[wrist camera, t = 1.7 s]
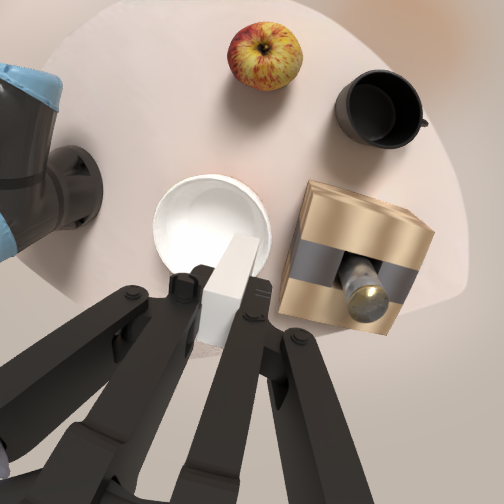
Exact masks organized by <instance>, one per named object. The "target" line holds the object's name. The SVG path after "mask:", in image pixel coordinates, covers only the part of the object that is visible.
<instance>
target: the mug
mask: <svg viewBox="0 0 504 504" xmlns="http://www.w3.org/2000/svg"><path fill="white" fill-rule="evenodd" d="M335 111H336V117H337V121H338V123H339V125H340V127H341V128H342V130H343V131H344V132H345V134H346V135H348V136H349V137H350V138H351V139H353V140H354V141H356V142H359V143H362V144H365V145H369V146H374V147H378V148H382V149H396V148H400V147H403V146H405V145H406V144H408V143H409V142H411V141H412V140H413V139H414V138H415V136H416V135H417V134H418V132H419V130H420V127H427V126H428V124H429V123H428V122H427V121H426V120H424V119H423V110H422V104H421V101H420V98H419V96H418V94H417V92H416V90H415V89H414V88H413V86H412V85H411V84H410V83H409V82H408V81H407V80H406V79H404V78H403V77H402V76H400V75H398V74H396V73H394V72H391V71H387V70H372V71H368V72H365V73H363V74H362V75H360V76H359V77H357V78H356V79H355V80H354V81H352V82H351V83H350V84H348V85H347V86H346V87H345V88H344V89H343V90H342V91H341V92H340V94H339V95H338V98H337V101H336V107H335Z"/></svg>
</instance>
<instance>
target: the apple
mask: <svg viewBox="0 0 504 504" xmlns="http://www.w3.org/2000/svg"><path fill="white" fill-rule="evenodd" d="M227 59H228V64H229V66H230V69H231V71H232V73H233V74H234V76H235V77H236V78H237V79H238V80H239V81H241V82H242V83H244V84H246V85H248V86H250V87H253V88H255V89H259V90H263V91H270V90H276V89H279V88H281V87H283V86H285V85H286V84H288V83H289V82H290V81H292V80H293V79H294V78H295V77H296V76H297V74H298V72H299V70H300V68H301V65H302V61H303V54H302V50H301V47H300V45H299V43H298V41H297V39H296V37H295V36H294V35H293V33H292V32H291V31H290V30H289V29H288V28H286V27H285V26H283V25H281V24H278V23H274V22H259V23H255V24H252V25H249V26H247V27H245V28H243V29H242V30H240V31H239V32H238V33H237V34H236V35H235V36H234V38H233V39H232V41H231V43H230V46H229V49H228V53H227Z"/></svg>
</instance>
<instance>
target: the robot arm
mask: <svg viewBox="0 0 504 504" xmlns="http://www.w3.org/2000/svg"><path fill="white" fill-rule="evenodd" d="M62 89H63V84H62V81H61V79H60V78H59V77H58V76H56V75H53V74H50V73H46V72H42V71H38V70H34V69H29V68H25V67H20V66H13V65H8V64H3V63H0V262H2V261H4V260H6V259H8V258H10V257H14V256H15V255H16V254H17V253H19V252H21V251H22V250H24V249H25V248H27V247H28V246H30V245H31V244H33V243H35V242H36V241H38V240H39V239H41V238H43V237H44V236H46V235H48V234H49V233H51V232H53V231H55V230H71V229H77V228H80V227H82V226H83V225H85V224H87V223H89V222H90V221H91V220H92V219H93V218H94V217H95V216H96V214H97V213H98V211H99V208H100V206H101V202H102V196H103V184H102V178H101V174H100V171H99V168H98V166H97V164H96V162H95V161H94V159H93V158H92V156H91V155H90V154H89V153H88V152H87V151H85V150H84V149H82V148H80V147H77V146H65V147H60V148H57V149H55V150H53V151H52V152H50V153H49V150H50V144H51V139H52V135H53V130H54V125H55V121H56V117H57V113H59V108H58V107H59V102H60V98H61V93H62ZM259 243H260V239H259V238H255V237H251V236H246V235H242V234H238V233H235V234H234V236H233V238H232V239H231V241H230V243H229V245H228V246H227V248H226V250H225V252H224V253H223V255H222V257H221V259H220V261H219V262H218V264H217V266H216V268H214V267H210V266H207V265H203V264H200V265H198V266H196V267H194V268H193V269H192V271H191V272H190V273H176V274H173V275H172V276H170V282H169V294H168V295H167V297H166V298H152V297H149V293H148V292H147V290H146V289H144V288H143V287H140V286H136V285H129V286H125V287H122V288H120V289H119V290H117V291H116V292H114V293H112V294H111V295H109V296H107V297H106V298H104V299H103V300H101V301H100V302H98V303H96V304H95V305H93V306H92V307H90V308H88V309H87V310H85V311H84V312H82V313H81V314H79V315H78V316H76V317H74V318H73V319H71V320H70V321H68V322H67V323H65V324H64V325H62V326H61V327H59V328H58V329H56V330H55V331H53V332H52V333H50V334H48V335H47V336H45V337H44V338H43V339H41V340H39V341H38V342H36V343H35V344H33V345H32V346H30V347H29V348H28V349H26V350H25V351H23V352H22V353H20V354H19V355H17V356H16V357H14V358H13V359H11V360H10V361H9V362H7V363H6V364H4V365H3V366H1V367H0V478H3V480H0V504H236V501H237V497H238V492H239V486H240V479H239V475H240V469H241V465H242V460H243V455H244V450H245V445H246V440H247V435H248V430H249V424H250V420H251V414H252V409H253V404H254V398H255V393H256V388H257V382H258V377H259V374H261V375H263V376H265V377H267V384H268V390H269V396H270V401H271V407H272V412H273V418H274V424H275V429H276V435H277V441H278V447H279V452H280V458H281V463H282V469H283V474H284V480H285V485H286V491H287V496H288V501H289V504H374V501H373V498H372V495H371V492H370V489H369V486H368V483H367V481H366V477H365V474H364V471H363V468H362V465H361V463H360V460H359V457H358V454H357V451H356V448H355V445H354V442H353V439H352V437H351V434H350V431H349V428H348V425H347V423H346V420H345V417H344V414H343V412H342V409H341V406H340V403H339V400H338V398H337V395H336V392H335V390H334V387H333V384H332V381H331V379H330V376H329V374H328V371H327V368H326V366H325V363H324V360H323V358H322V355H321V352H320V350H319V347H318V344H317V342H316V339H315V338H314V336H313V335H312V334H311V333H310V332H308V331H306V330H304V329H301V328H289V329H287V330H286V331H285V332H283V331H281V330H279V329H277V328H275V327H274V326H273V325H272V324H271V323H270V322H269V320H268V311H269V305H270V298H271V293H272V285H271V283H270V281H269V280H265V279H261V278H257V277H253V276H252V273H253V269H254V264H255V260H256V256H257V252H258V248H259ZM196 335H197V340H196V341H199V342H202V343H206V344H209V345H213V346H216V347H220V348H224V350H223V353H222V356H221V359H220V362H219V365H218V368H217V371H216V374H215V377H214V380H213V382H212V385H211V388H210V391H209V394H208V397H207V400H206V403H205V406H204V409H203V412H202V415H201V418H200V421H199V424H198V427H197V430H196V433H195V436H194V439H193V442H192V445H191V448H190V451H189V454H188V457H187V460H186V462H185V464H184V465H183V467H182V469H181V471H180V474H179V476H178V479H177V482H176V485H175V488H174V491H173V494H172V497H171V499H170V502H161V501H153V500H146V499H141V498H138V497H136V496H135V495H134V493H135V489H136V485H137V478H138V475H139V472H140V470H141V467H142V465H143V463H144V460H145V458H146V455H147V453H148V451H149V448H150V446H151V444H152V441H153V439H154V437H155V434H156V432H157V430H158V427H159V425H160V423H161V421H162V418H163V416H164V414H165V411H166V409H167V407H168V404H169V402H170V400H171V398H172V395H173V393H174V390H175V388H176V386H177V384H178V382H179V379H180V377H181V375H182V373H183V370H184V368H185V366H186V364H187V361H188V359H189V357H190V355H191V352H192V350H193V346H194V339H195V337H196ZM108 381H109V382H108ZM107 382H108V384H107V385H106V387H105V388H104V390H103V391H102V393H101V394H100V396H99V397H98V399H97V401H96V402H95V404H94V406H93V407H92V409H91V410H90V412H89V413H88V415H87V417H86V418H85V419H84V420H83V421H82V422H74V423H72V424H71V425H70V426H69V427H68V429H67V430H66V432H65V433H64V435H63V436H62V438H61V439H60V441H59V442H58V444H57V446H56V447H55V449H54V451H53V452H52V454H51V456H50V457H49V459H48V460H47V462H46V464H45V465H44V467H43V468H41V469H38V470H35V471H31V472H28V473H25V474H21V475H18V476H14V477H11V478H8V476H9V475H10V469H9V463H10V462H13V461H15V460H17V459H19V458H20V457H22V456H24V455H25V454H27V453H28V452H29V451H31V450H32V449H33V448H34V447H35V446H37V445H38V444H39V443H40V442H41V441H42V440H43V439H44V438H46V437H47V436H48V435H49V434H50V433H51V432H52V431H53V430H55V429H56V428H57V427H58V426H59V425H60V424H61V423H62V422H63V421H65V420H66V419H67V418H68V417H69V416H70V415H71V414H72V413H74V412H75V411H76V410H77V409H78V408H79V407H80V406H81V405H82V404H83V403H85V402H86V401H87V400H88V399H89V398H90V397H91V396H93V395H94V394H95V393H96V392H97V391H98V390H99V389H100V388H101V387H102V386H104V385H105V384H106V383H107ZM5 478H7V479H5Z"/></svg>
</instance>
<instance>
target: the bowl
mask: <svg viewBox="0 0 504 504" xmlns="http://www.w3.org/2000/svg"><path fill="white" fill-rule="evenodd" d="M235 233H238V234H242V235H246V236H251V237H255V238H259V239H260V243H259V248H258V252H257V256H256V260H255V264H254V269H253V273H252V276H253V277H256V276H257V275H258V273H259V272H260V271H261V270H262V268H263V267H264V265H265V263H266V261H267V259H268V257H269V253H270V249H271V239H272V233H271V228H270V222H269V217H268V214H267V211H266V209H265V206H264V204H263V202H262V201H261V199H260V198H259V196H258V195H257V194H256V193H255V192H254V191H253V190H252V189H251V188H250V187H249V186H247V185H246V184H244V183H243V182H242V181H240V180H237V179H235V178H232V177H229V176H224V175H200V176H195V177H190V178H187V179H185V180H183V181H181V182H179V183H177V184H176V185H174V186H173V187H172V188H170V189H169V190H168V191H167V192H166V194H165V195H164V196H163V197H162V198H161V200H160V202H159V204H158V206H157V208H156V211H155V214H154V218H153V238H154V243H155V246H156V249H157V252H158V254H159V256H160V258H161V260H162V261H163V263H164V264H165V265H166V267H167V268H168V269H169V270H170V271H171V272H172V273H173V274H176V273H190V272H191V271H192V269H193V268H194V267H196V266H198V265H200V264H203V265H207V266H210V267H214V268H216V266H217V264H218V262H219V261H220V259H221V257H222V255H223V253H224V252H225V250H226V248H227V246H228V245H229V243H230V241H231V239H232V238H233V236H234V234H235Z"/></svg>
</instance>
